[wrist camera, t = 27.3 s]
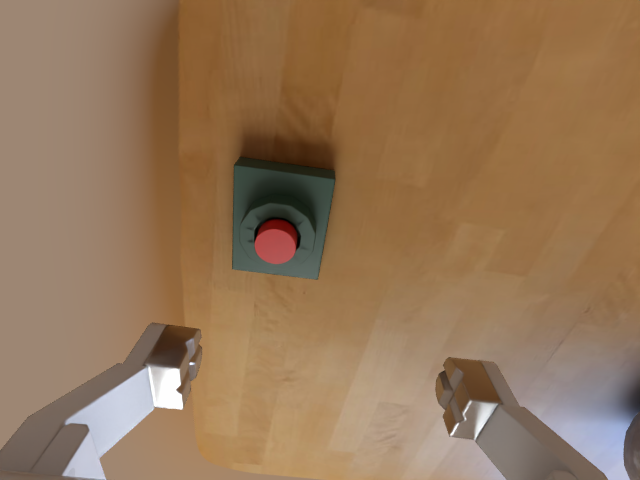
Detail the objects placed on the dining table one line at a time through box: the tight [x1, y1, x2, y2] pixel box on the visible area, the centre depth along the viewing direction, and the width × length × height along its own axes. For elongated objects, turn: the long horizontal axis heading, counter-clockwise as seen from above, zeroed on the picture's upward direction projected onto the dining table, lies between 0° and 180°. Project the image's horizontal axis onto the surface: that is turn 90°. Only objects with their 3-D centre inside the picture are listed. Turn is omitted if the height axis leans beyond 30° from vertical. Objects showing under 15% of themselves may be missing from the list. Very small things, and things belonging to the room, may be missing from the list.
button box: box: [232, 157, 335, 280], centre depth 29 cm, size 10×8×4 cm
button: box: [255, 219, 297, 264], centre depth 26 cm, size 3×3×2 cm
